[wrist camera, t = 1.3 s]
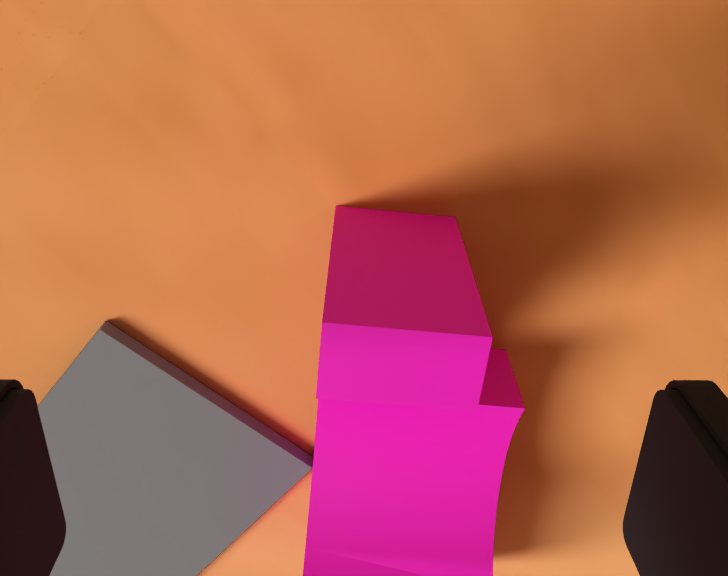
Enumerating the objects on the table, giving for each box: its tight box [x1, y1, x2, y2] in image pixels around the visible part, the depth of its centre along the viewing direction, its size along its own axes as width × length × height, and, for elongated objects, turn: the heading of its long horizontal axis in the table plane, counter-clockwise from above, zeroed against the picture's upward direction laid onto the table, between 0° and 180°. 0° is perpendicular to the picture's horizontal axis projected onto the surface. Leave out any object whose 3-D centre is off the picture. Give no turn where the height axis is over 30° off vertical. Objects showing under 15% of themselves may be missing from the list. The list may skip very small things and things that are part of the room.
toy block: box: [303, 206, 525, 576], centre depth 22 cm, size 15×6×8 cm, turn 174°
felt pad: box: [37, 321, 313, 576], centre depth 27 cm, size 17×9×1 cm, turn 139°
